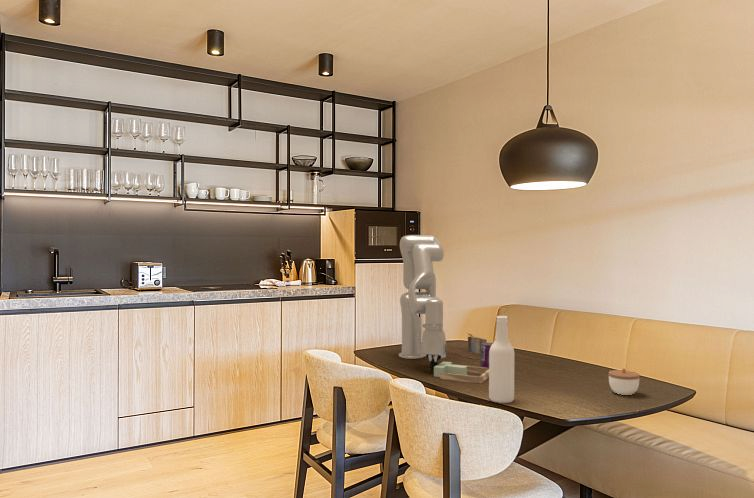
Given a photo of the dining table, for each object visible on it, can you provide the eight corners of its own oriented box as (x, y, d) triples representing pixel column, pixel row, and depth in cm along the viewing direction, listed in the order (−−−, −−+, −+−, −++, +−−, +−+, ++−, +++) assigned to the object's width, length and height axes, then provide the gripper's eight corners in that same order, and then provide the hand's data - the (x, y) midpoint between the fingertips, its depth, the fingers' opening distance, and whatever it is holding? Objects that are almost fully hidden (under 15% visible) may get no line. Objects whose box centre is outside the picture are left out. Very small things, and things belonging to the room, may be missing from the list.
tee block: (461, 379, 235) (461, 369, 235) (433, 376, 240) (433, 366, 240) (469, 373, 246) (470, 364, 246) (443, 370, 251) (443, 361, 251)
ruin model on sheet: (467, 351, 297) (467, 332, 296) (471, 351, 298) (471, 332, 298) (482, 355, 287) (482, 336, 287) (486, 354, 289) (486, 335, 288)
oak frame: (454, 370, 252) (454, 364, 252) (492, 374, 245) (492, 368, 245) (440, 379, 236) (440, 373, 236) (481, 383, 228) (481, 377, 228)
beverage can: (496, 373, 246) (496, 345, 246) (479, 372, 248) (480, 344, 248) (496, 369, 253) (496, 342, 253) (480, 368, 255) (480, 342, 254)
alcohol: (491, 403, 200) (492, 318, 200) (486, 396, 209) (487, 314, 209) (516, 403, 201) (517, 318, 200) (510, 396, 209) (511, 314, 209)
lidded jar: (646, 396, 210) (646, 371, 210) (621, 398, 207) (621, 372, 207) (625, 389, 221) (625, 365, 220) (602, 391, 218) (602, 366, 217)
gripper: (414, 327, 246) (414, 370, 246) (447, 330, 240) (447, 373, 240) (421, 325, 253) (421, 366, 253) (453, 327, 246) (453, 370, 247)
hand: (433, 370), depth 246 cm, fingers closed
